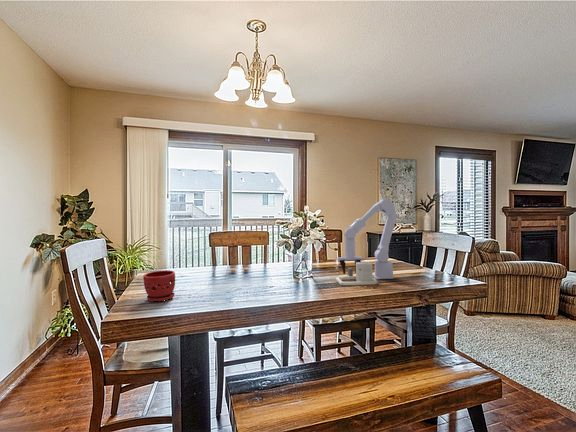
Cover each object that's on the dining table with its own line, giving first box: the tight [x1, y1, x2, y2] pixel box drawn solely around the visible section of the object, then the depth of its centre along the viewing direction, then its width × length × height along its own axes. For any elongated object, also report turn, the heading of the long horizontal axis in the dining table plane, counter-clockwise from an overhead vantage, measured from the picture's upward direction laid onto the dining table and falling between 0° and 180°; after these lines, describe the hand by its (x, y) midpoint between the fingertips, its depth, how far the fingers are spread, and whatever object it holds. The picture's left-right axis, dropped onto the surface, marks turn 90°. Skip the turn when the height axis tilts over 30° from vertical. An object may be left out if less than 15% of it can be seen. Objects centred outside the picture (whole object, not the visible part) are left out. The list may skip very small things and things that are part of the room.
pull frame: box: [334, 267, 379, 286], centre depth 176 cm, size 19×20×5 cm
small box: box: [355, 261, 374, 282], centre depth 171 cm, size 8×6×10 cm
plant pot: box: [142, 269, 176, 302], centre depth 145 cm, size 13×13×12 cm
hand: (350, 273), depth 184 cm, fingers open, 6 cm apart
